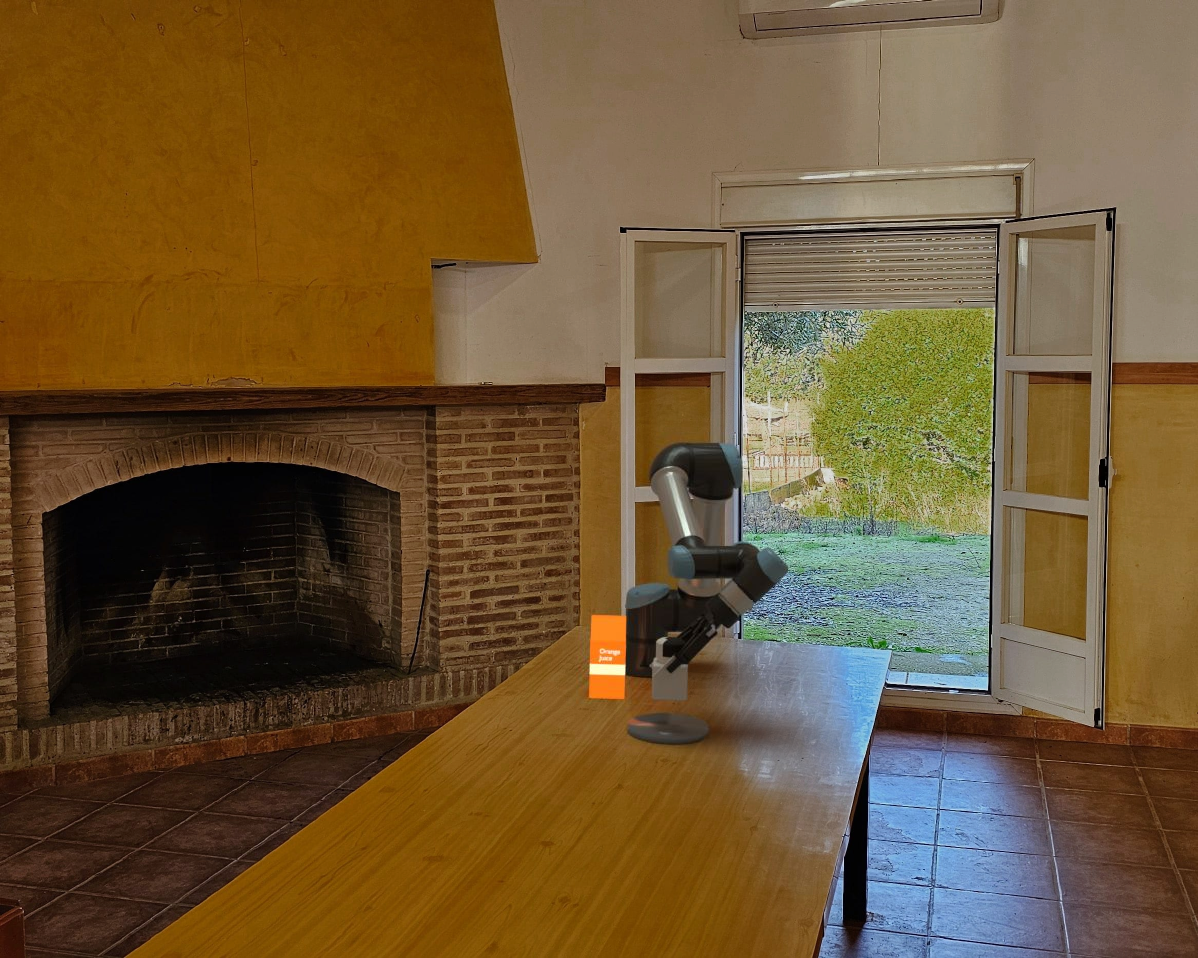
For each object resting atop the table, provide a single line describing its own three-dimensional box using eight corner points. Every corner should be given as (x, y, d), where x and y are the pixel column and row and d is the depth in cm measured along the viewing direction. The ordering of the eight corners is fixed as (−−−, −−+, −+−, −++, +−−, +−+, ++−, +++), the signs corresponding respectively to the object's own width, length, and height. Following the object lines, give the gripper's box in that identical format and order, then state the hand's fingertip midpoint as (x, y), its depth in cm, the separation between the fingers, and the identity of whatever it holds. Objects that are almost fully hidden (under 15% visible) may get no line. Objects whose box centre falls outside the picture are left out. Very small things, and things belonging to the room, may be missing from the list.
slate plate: (611, 730, 250) (611, 723, 250) (663, 714, 263) (663, 708, 263) (673, 749, 238) (673, 742, 238) (724, 732, 251) (724, 725, 251)
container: (687, 692, 253) (688, 635, 252) (686, 701, 245) (688, 643, 244) (653, 690, 253) (654, 634, 252) (651, 699, 246) (652, 641, 245)
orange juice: (624, 698, 276) (626, 619, 274) (588, 698, 276) (590, 618, 274) (624, 690, 283) (626, 612, 282) (589, 689, 284) (591, 611, 282)
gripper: (748, 627, 238) (670, 700, 239) (733, 607, 259) (662, 674, 260) (723, 602, 237) (646, 675, 238) (711, 584, 258) (640, 652, 259)
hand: (655, 675), depth 249 cm, fingers closed on container, 8 cm apart
